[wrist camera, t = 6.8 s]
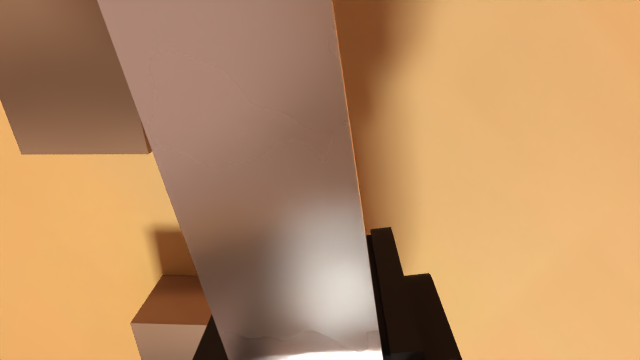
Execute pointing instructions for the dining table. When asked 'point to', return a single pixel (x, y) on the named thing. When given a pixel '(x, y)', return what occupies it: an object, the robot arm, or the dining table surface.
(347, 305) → the long grey plank
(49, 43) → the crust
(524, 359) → the dining table surface
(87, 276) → the dining table surface
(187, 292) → the small brown block
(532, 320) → the dining table surface
